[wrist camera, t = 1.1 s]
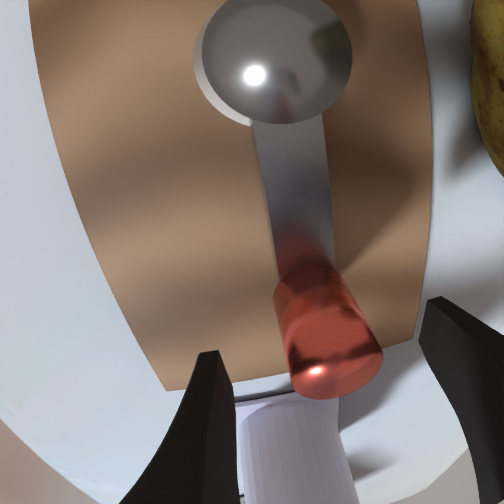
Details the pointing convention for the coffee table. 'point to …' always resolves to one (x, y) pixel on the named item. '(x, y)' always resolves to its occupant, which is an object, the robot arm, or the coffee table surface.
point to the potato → (489, 75)
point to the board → (230, 175)
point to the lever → (296, 176)
